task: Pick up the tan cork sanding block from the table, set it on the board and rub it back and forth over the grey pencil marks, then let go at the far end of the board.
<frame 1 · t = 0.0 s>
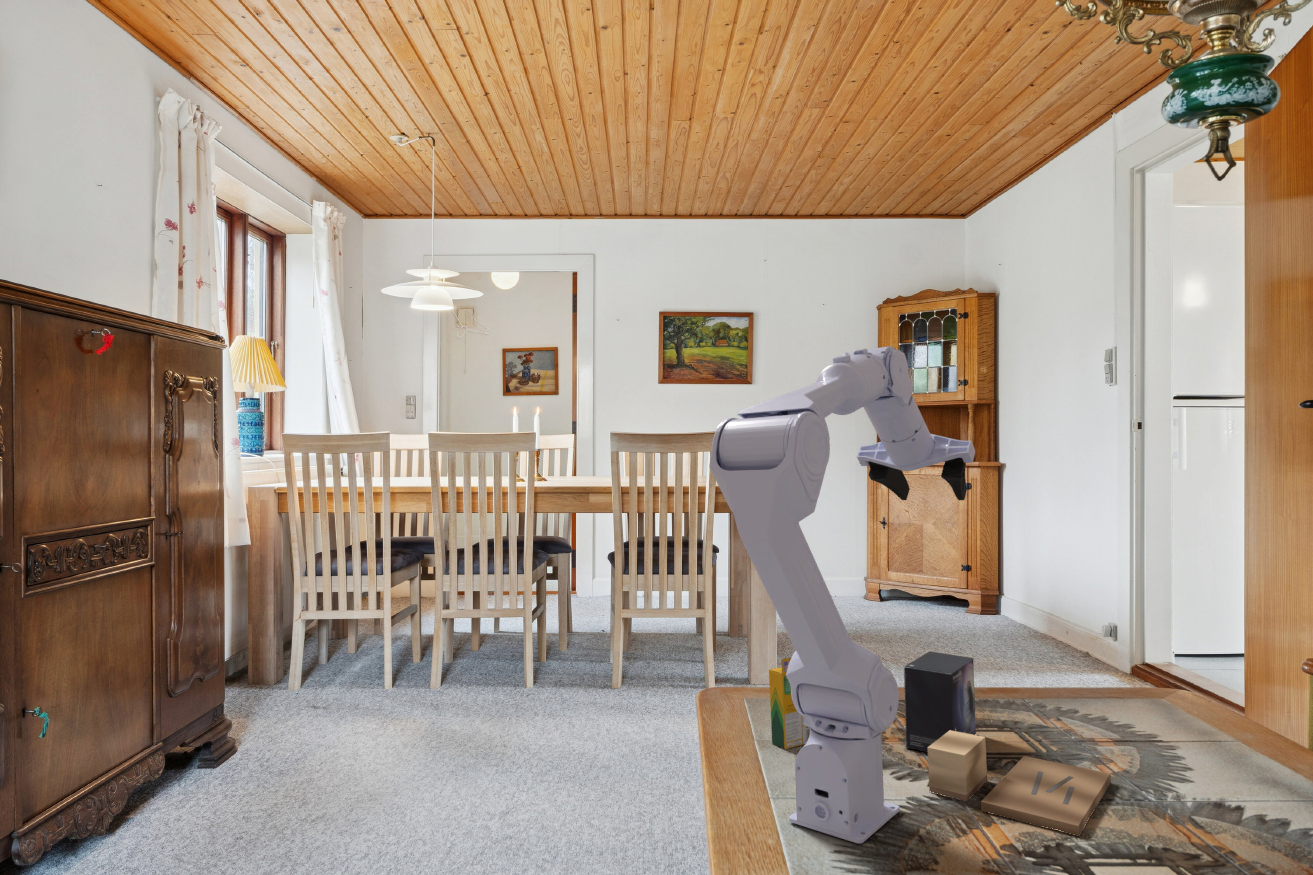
hand: (933, 494, 101), 32 cm above the table, tool tilted 50°, fingers open, 7 cm apart
small box: (942, 743, 99), on the table
crayon box: (799, 742, 100), on the table
sanding block: (958, 787, 85), on the table
board: (1048, 796, 81), on the table
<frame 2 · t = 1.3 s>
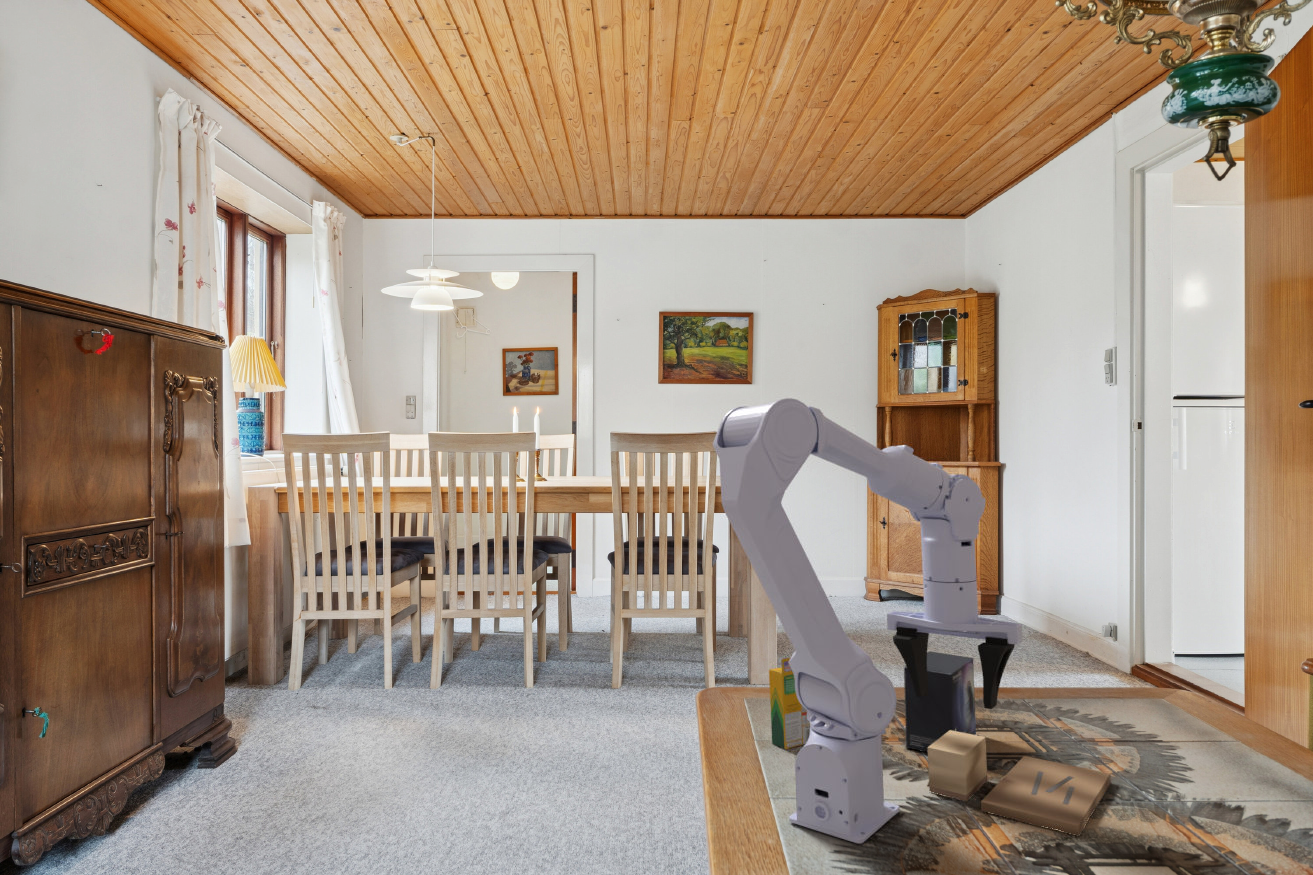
hand: (955, 700, 85), 9 cm above the table, tool pointing down, fingers open, 7 cm apart
nothing on the table moved.
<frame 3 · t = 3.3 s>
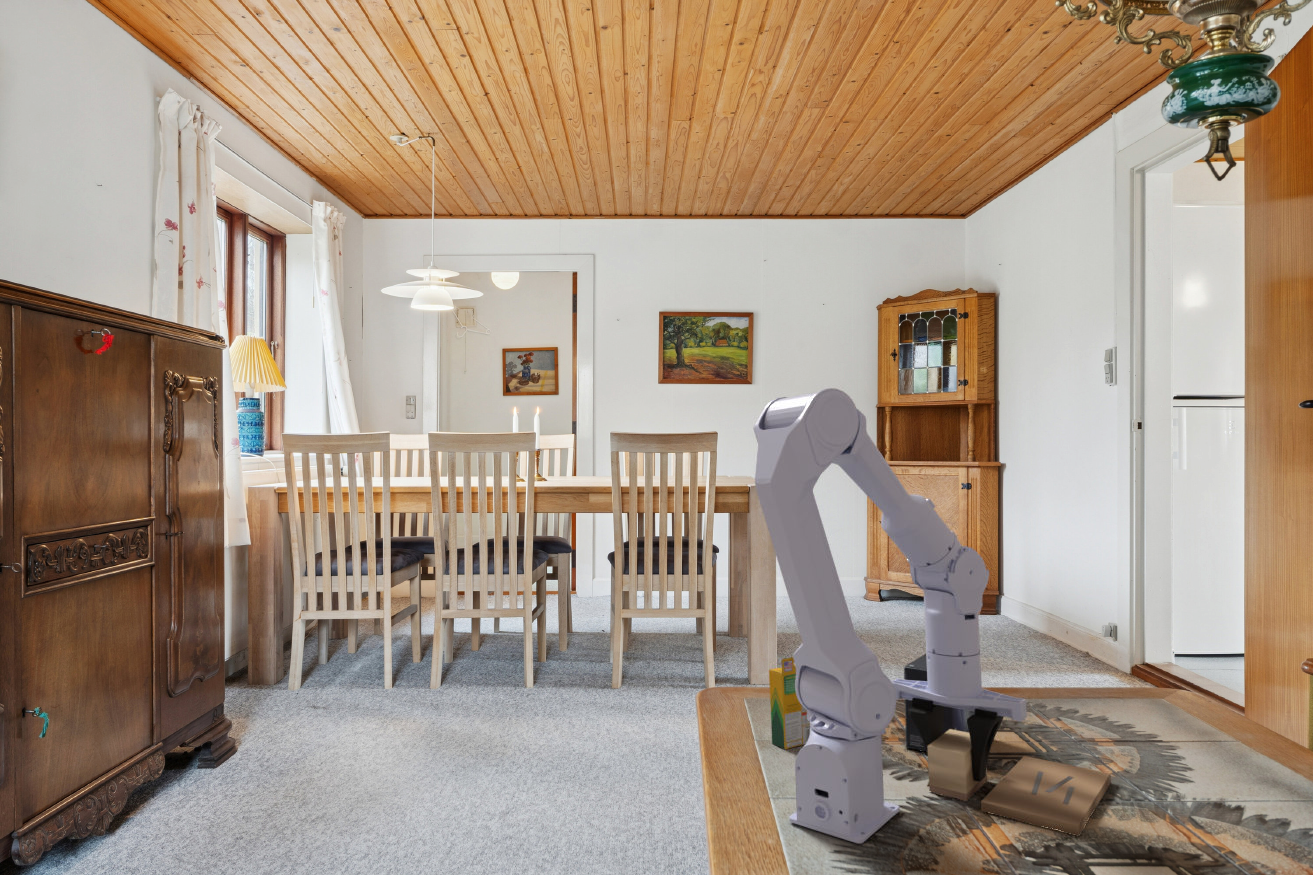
hand: (958, 773, 85), 1 cm above the table, tool pointing down, fingers closed on sanding block, 4 cm apart
sanding block: (958, 786, 85), on the table, touching gripper
everything else where it was.
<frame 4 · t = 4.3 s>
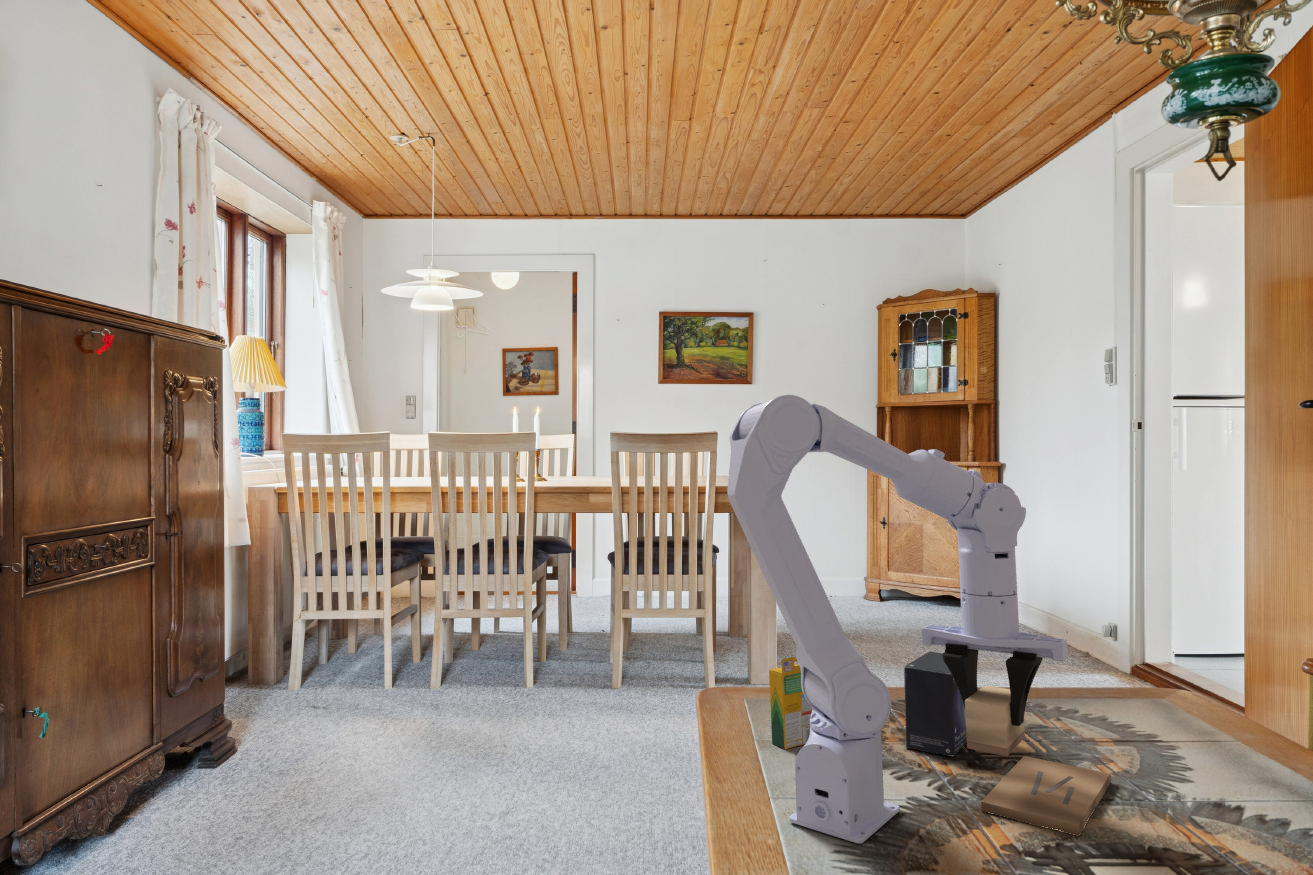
hand: (994, 719, 81), 8 cm above the table, tool pointing down, fingers closed on sanding block, 4 cm apart
sanding block: (996, 742, 81), point 6 cm above the table, touching gripper
everything else where it was.
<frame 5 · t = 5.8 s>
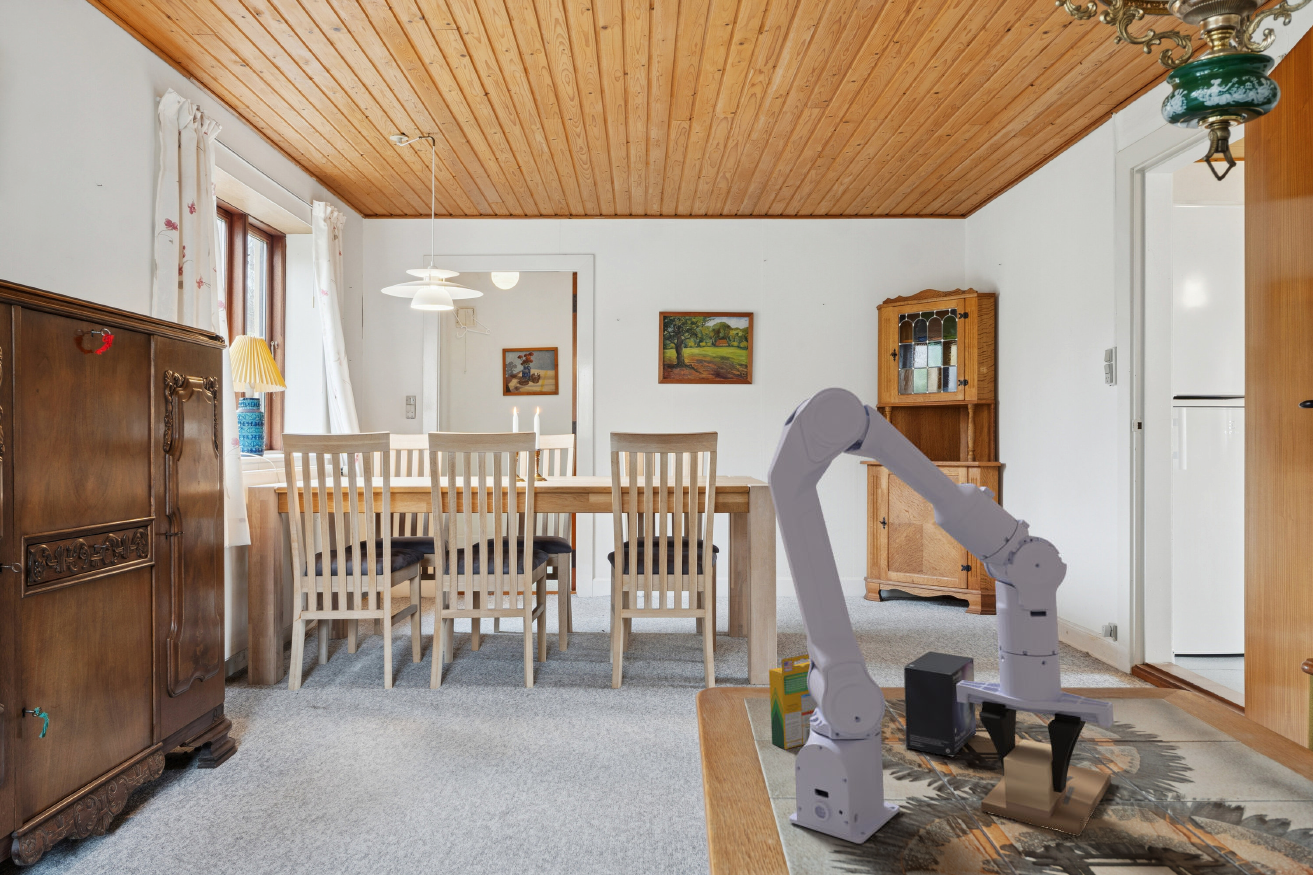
hand: (1035, 783, 78), 3 cm above the table, tool pointing down, fingers closed on sanding block, 4 cm apart
sanding block: (1036, 801, 78), point 1 cm above the table, touching board, gripper
everything else where it was.
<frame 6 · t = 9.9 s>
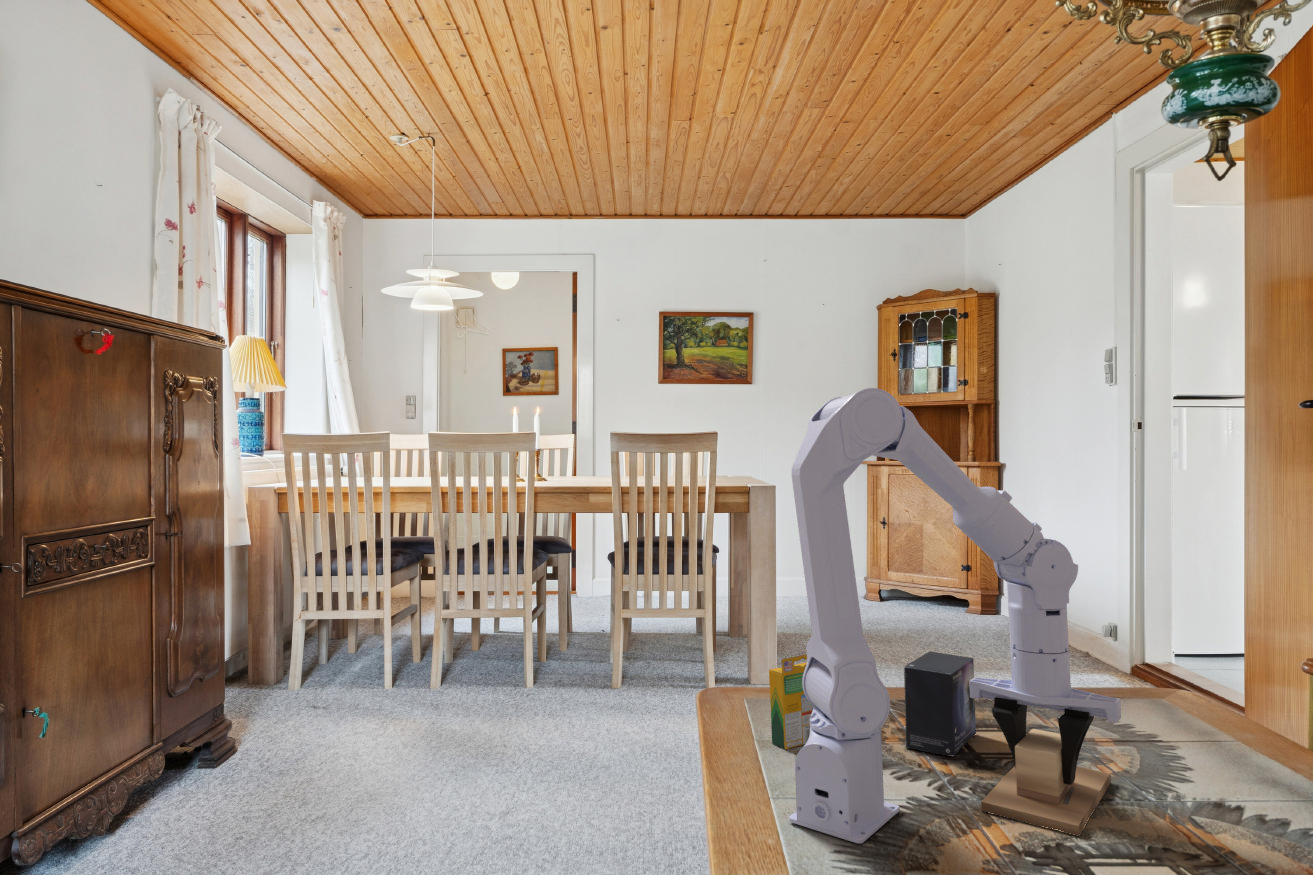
hand: (1045, 775, 81), 2 cm above the table, tool pointing down, fingers closed on sanding block, 4 cm apart
sanding block: (1046, 788, 81), point 1 cm above the table, touching gripper
everything else where it was.
when the fingers open (2 cm above the table, at t = 14.1 s): sanding block stays where it is, resting on board.
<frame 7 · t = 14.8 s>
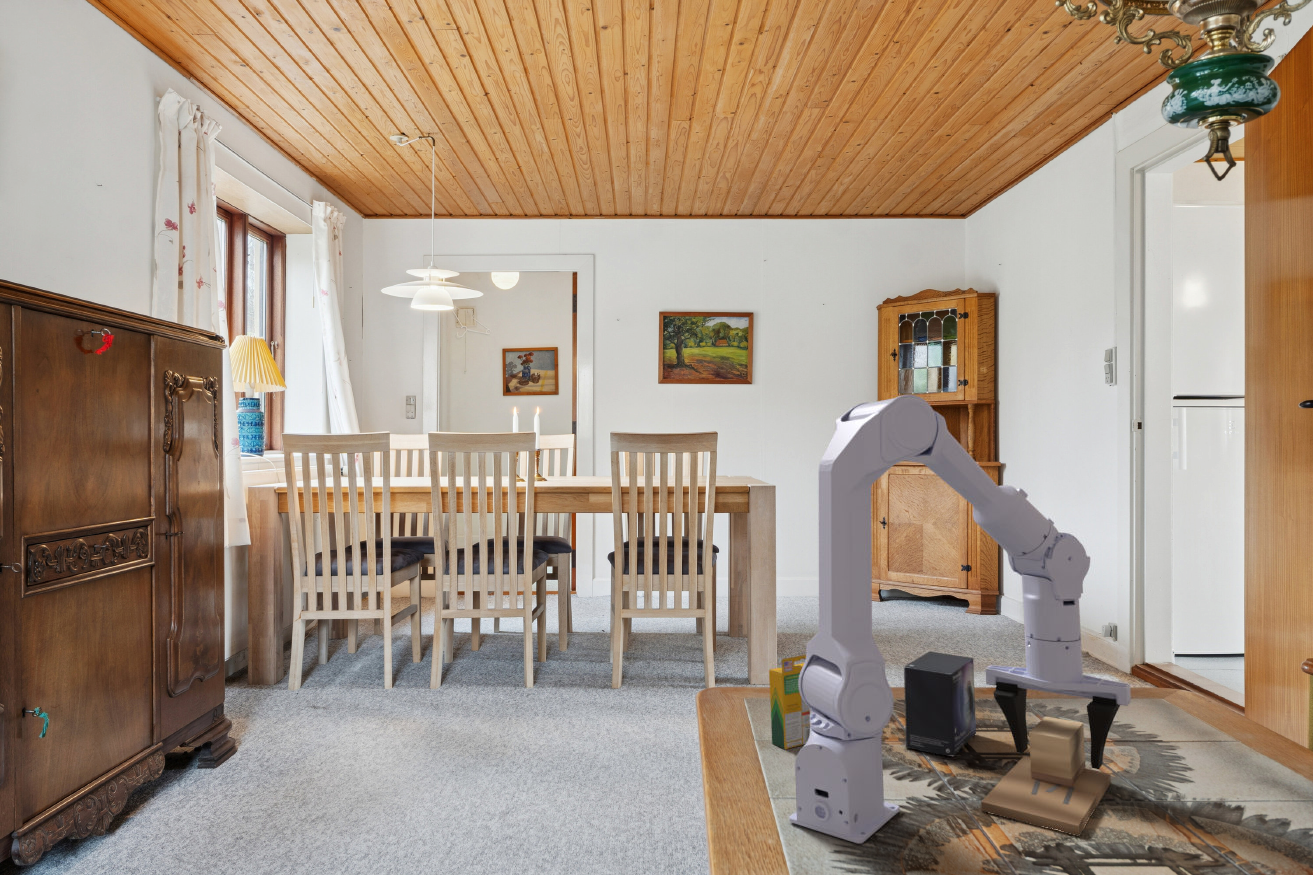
hand: (1058, 757, 85), 3 cm above the table, tool pointing down, fingers open, 7 cm apart
sanding block: (1058, 772, 85), point 1 cm above the table, touching board
everything else where it was.
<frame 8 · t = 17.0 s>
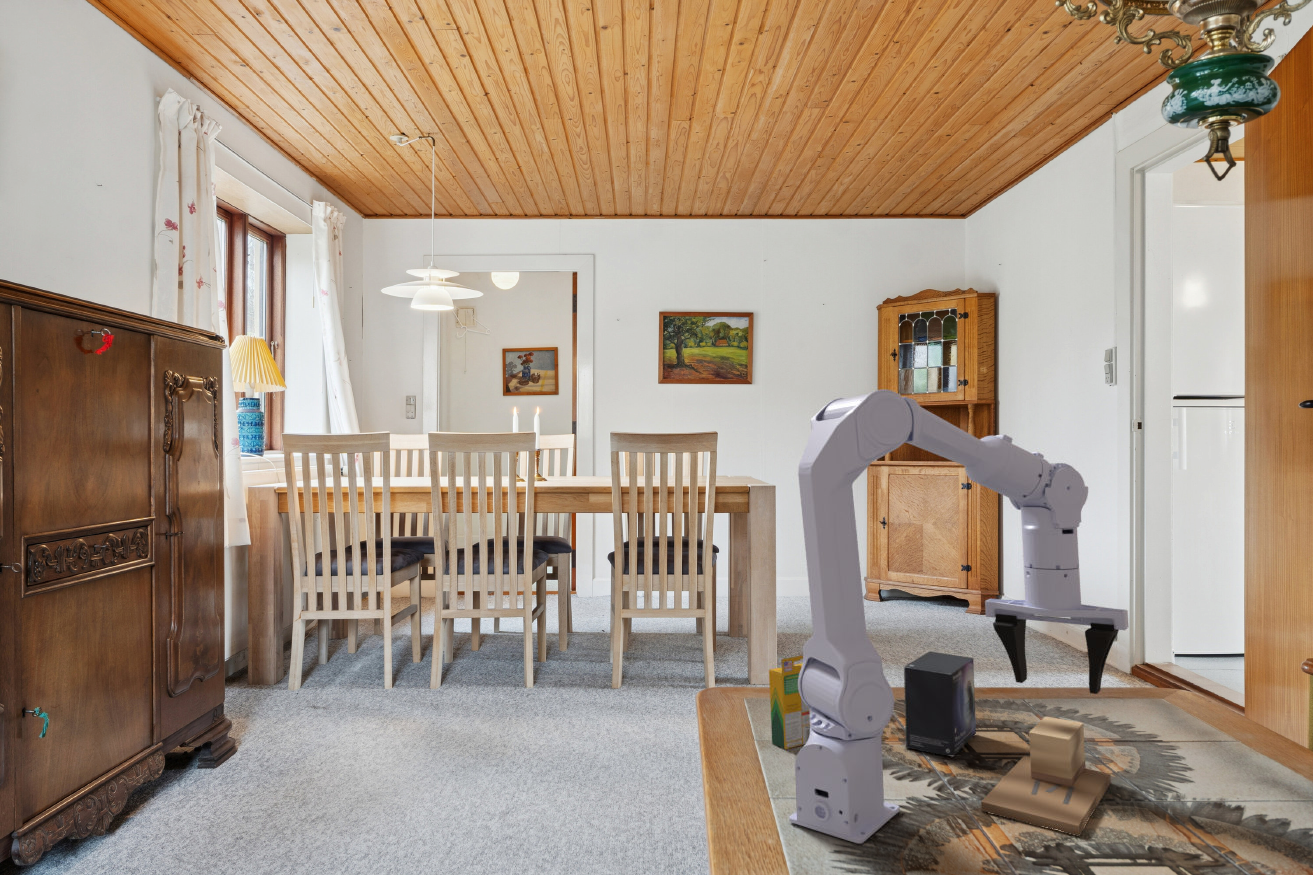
hand: (1057, 685, 86), 10 cm above the table, tool pointing down, fingers open, 7 cm apart
nothing on the table moved.
at the end: sanding block 0.1 cm from the target spot on the board, point 1.0 cm above the board's base; sanding block touching board; the gripper is holding nothing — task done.
